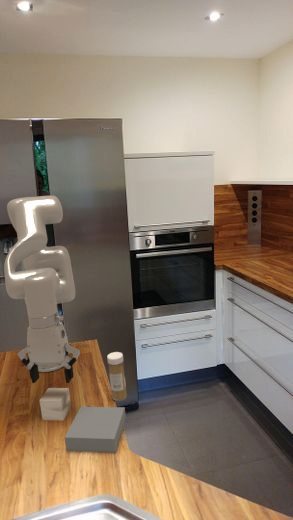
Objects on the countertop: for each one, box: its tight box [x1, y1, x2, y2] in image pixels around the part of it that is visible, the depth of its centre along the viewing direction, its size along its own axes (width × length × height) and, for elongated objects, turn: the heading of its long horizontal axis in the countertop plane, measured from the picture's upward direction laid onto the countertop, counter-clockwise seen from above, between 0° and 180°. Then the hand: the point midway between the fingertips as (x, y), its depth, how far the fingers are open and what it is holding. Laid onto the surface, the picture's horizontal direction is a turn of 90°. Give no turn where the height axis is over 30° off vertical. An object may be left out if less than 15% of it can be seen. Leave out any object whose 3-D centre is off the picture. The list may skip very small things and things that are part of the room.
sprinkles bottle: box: [106, 351, 128, 402], centre depth 103 cm, size 5×5×14 cm
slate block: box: [64, 406, 127, 454], centre depth 89 cm, size 12×12×4 cm
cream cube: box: [39, 387, 72, 421], centre depth 98 cm, size 6×6×6 cm
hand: (52, 380), depth 96 cm, fingers open, 9 cm apart
